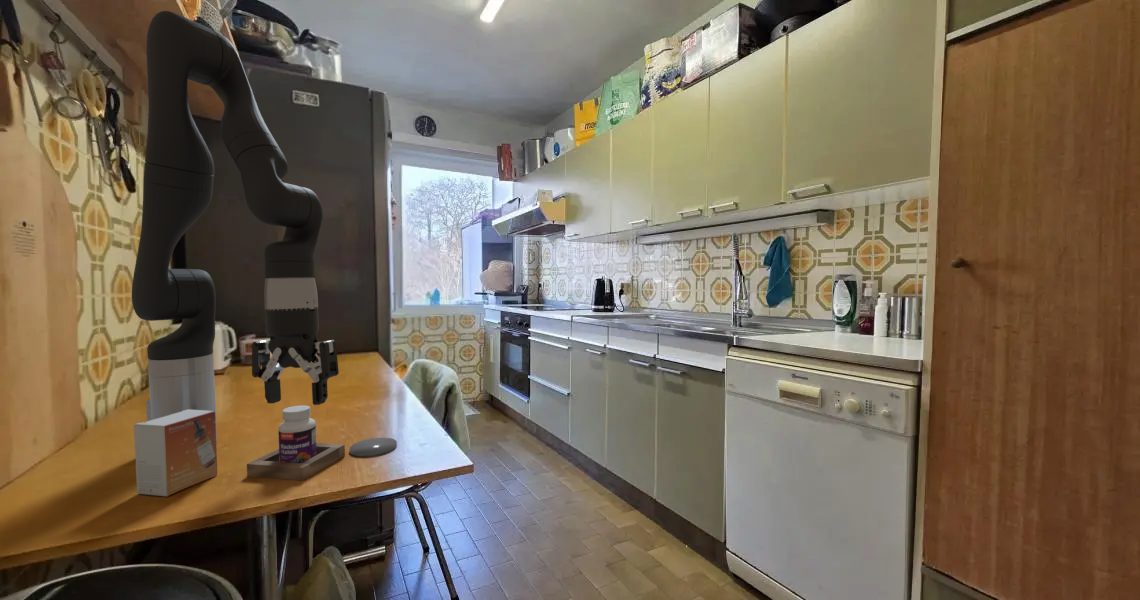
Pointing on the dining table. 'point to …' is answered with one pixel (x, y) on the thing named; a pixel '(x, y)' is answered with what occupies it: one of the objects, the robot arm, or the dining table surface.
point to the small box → (175, 452)
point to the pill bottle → (297, 435)
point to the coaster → (373, 447)
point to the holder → (295, 471)
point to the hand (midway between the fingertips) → (296, 403)
